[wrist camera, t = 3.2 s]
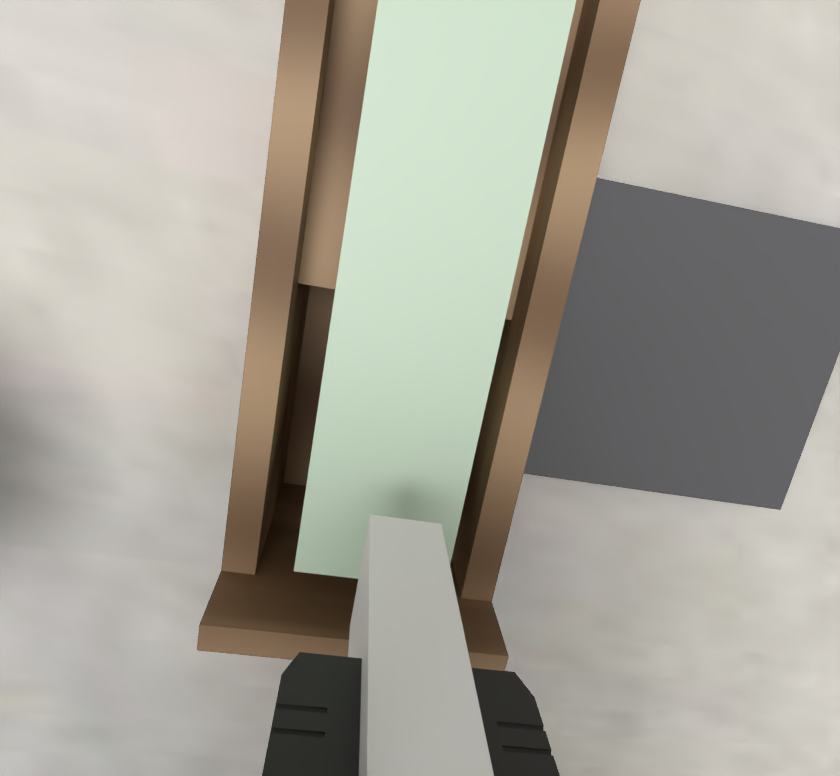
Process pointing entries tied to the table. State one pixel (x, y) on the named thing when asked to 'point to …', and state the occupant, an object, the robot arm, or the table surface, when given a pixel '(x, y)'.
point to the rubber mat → (690, 348)
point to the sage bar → (427, 262)
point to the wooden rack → (311, 315)
